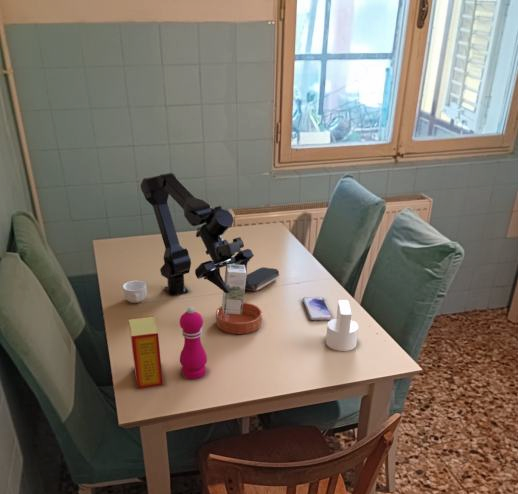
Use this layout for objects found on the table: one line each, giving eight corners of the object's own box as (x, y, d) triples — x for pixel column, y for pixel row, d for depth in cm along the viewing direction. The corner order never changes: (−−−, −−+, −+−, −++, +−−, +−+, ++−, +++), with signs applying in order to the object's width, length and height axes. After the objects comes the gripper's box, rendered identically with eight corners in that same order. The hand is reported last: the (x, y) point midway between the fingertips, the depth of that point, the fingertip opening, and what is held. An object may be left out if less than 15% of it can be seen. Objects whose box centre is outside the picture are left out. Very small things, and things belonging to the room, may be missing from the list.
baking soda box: (134, 368, 155) (128, 317, 147) (158, 365, 157) (153, 314, 149) (137, 388, 148) (131, 335, 139) (162, 384, 149) (158, 332, 141)
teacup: (123, 296, 193) (121, 282, 190) (145, 293, 195) (144, 279, 192) (126, 309, 185) (124, 294, 182) (150, 306, 187) (148, 291, 184)
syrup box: (239, 306, 177) (245, 263, 170) (241, 315, 172) (247, 272, 165) (221, 305, 176) (226, 262, 169) (223, 314, 171) (227, 271, 164)
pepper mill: (196, 383, 150) (193, 317, 140) (175, 374, 153) (170, 309, 143) (212, 370, 155) (210, 305, 145) (191, 362, 159) (188, 298, 148)
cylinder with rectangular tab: (324, 334, 173) (327, 299, 167) (354, 335, 173) (358, 300, 166) (326, 350, 165) (330, 314, 159) (357, 351, 165) (362, 315, 159)
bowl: (209, 318, 180) (208, 307, 178) (248, 309, 186) (248, 298, 184) (228, 339, 170) (228, 327, 168) (269, 328, 176) (270, 317, 173)
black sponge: (254, 295, 195) (254, 285, 193) (234, 288, 199) (234, 278, 198) (281, 279, 206) (281, 270, 205) (262, 273, 211) (262, 264, 209)
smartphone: (322, 296, 193) (332, 317, 180) (322, 299, 193) (332, 320, 181) (302, 297, 192) (310, 318, 179) (301, 299, 193) (310, 320, 180)
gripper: (199, 237, 158) (224, 286, 157) (250, 223, 169) (273, 269, 168) (184, 254, 168) (207, 301, 166) (233, 240, 178) (256, 284, 177)
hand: (237, 288), depth 169 cm, fingers closed on syrup box, 7 cm apart
